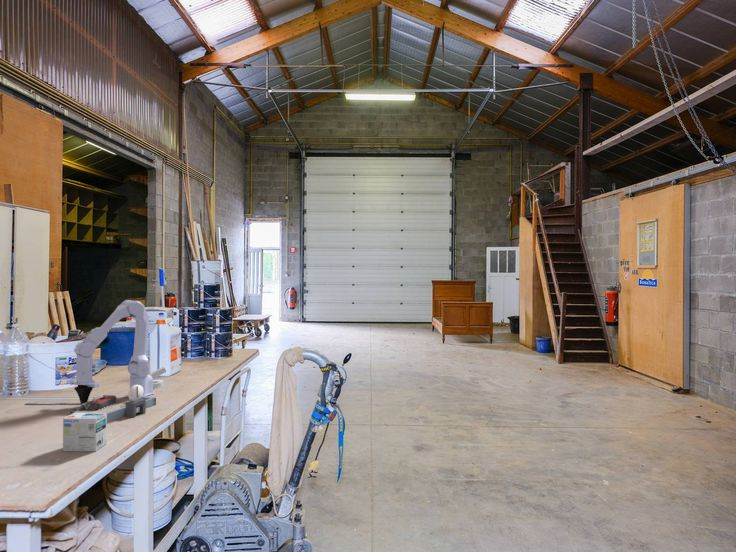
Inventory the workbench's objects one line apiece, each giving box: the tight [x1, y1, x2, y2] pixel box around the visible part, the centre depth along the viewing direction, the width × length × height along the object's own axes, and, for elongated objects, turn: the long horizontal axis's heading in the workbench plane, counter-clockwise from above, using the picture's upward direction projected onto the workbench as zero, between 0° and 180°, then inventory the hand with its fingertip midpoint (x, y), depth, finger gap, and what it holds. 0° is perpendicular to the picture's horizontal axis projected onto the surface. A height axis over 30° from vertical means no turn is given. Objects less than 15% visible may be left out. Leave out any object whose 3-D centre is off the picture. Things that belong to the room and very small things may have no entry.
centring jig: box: [73, 385, 157, 422], centre depth 185 cm, size 27×18×12 cm
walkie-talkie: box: [69, 394, 117, 414], centre depth 191 cm, size 9×4×20 cm
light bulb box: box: [62, 412, 108, 452], centre depth 149 cm, size 11×7×11 cm, turn 92°
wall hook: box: [148, 366, 167, 389], centre depth 227 cm, size 9×10×10 cm
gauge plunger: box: [119, 403, 140, 414], centre depth 184 cm, size 2×8×2 cm, turn 70°
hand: (84, 403), depth 192 cm, fingers closed
